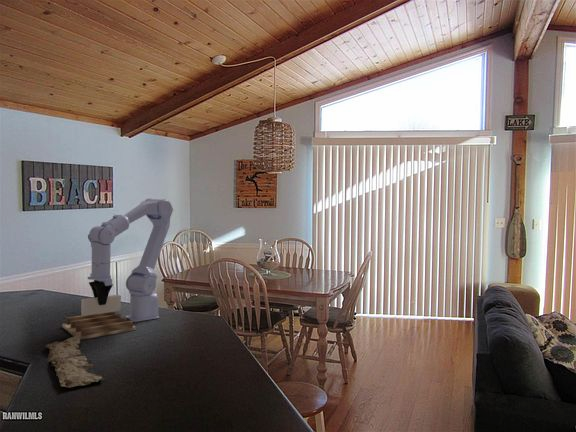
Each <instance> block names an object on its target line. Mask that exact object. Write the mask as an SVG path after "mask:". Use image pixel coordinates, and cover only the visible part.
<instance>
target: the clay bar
mask: <svg viewBox="0 0 576 432" xmlns="http://www.w3.org/2000/svg"><path fill="white" fill-rule="evenodd" d="M121 296H122V295H119V294H113V295H108V298H107V302H106V304H105V305H99V304H98V298H97V297H95V298H94V297H89V298H88V297H87V298H81V300H80V301H81V303H80V304H81V305H80V308H81V309H80V311H81V312H80V316H82V315H83V316H87V315H94V314H101V313H108V312H114V311H115V312H120V311H122V310H121V308H122V297H121Z"/></svg>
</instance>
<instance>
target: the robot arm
mask: <svg viewBox="0 0 576 432" xmlns="http://www.w3.org/2000/svg"><path fill="white" fill-rule="evenodd" d="M173 212H174V208H173V205H172V203H171V201H170V200H169V199H167V198H164V199H163V198H162V199H161V198H157V199H156V198H147V199H145V200H143V201H141V202H140V203H139V204H138V205H136V207H134V208H132V209H131V210H130V211H128V212H126V213H125V214H124V215H122V214H114V215H112V218H111V219H109V220H107V221H106V222H105V221H103V222H101V225H100V226H99V225H98V226H97V225H96V226H94V227H92V228H91V229H90V231H89V234H87V239H88V241H89V242H90V247H91V272H90V274H89V275H90V276H87V280H89V281H90V280H92V281H90V282H88V285H89V286H90V288H91V291H92V294H93V298H95V297H97V298H98V304H99V305H105V304H106V302H107V298H108V296H109V294H110V291H111V289H112V288H113V287H114V284H113V278H112V275H111V246H112V245H111V244H113V242H114V240H115V238H116V237H117V236H119V235H120V234H122V233H124V232H125V231H127V230H129V227H130V224H132V223H134V222H135V221H137V220H139V219H141V218H142V217H144V216H146V217H147V218H148V220H149V221H150V222H151V224H152V225H153V226H152V230H151V233H150V235H149V238H148V240H147V242H146V245H145V248H144V251H143V253H142V256H141V259H140V262H139V264H138V266H136V267H134V268H133V269H132V270H131V273H130V274H129V275H128V277H127V278H126V281H125V287H126V289H127V290H128V292H129V293H128V294H130V295H129V298H130V299H129V304H130V305H129V315H125V317H126V318H127V320H129V321H133V323H137V322H142V321H149V320H155V319H159V318H160V316H159V305H160V304H159V303H160V301H159V297H158V293H156V292H154V291H155V290H156V288H157V278H158V275H157V273H156V270H155V268H156V265H157V262H158V259H159V257H160V254H161V250H162V248H163V246H164V243H165V239H166V237H167V234H168V231H169V229H170V226H171V217H172V214H173Z"/></svg>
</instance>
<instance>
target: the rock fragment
mask: <svg viewBox="0 0 576 432" xmlns="http://www.w3.org/2000/svg"><path fill="white" fill-rule="evenodd" d="M80 343H81V340H80V339H79V336H78V335H76V336H72V337H69V338H67V339H65V340H63V341H54V342H52V343H47V344H46V345H44V347H46V348H47V349H49V350H48V351H49V353H48V355H47V357H46V361H47V363H50V362H51V367H55V368H54V370H55V371H54V372H55V373H56V376H55V377H57V379H58V381H59V383H60V387H63V388H73V387H77V386H88V385H90V384H92V383H94V382H96V383H97V382H100V381H102V380H105V379H106V378H103V376H101V375H100V374H95V373H93V372H91V373H90V372H88V371H86V370H89V369H91V370H93V369H94V368H93V367H94V366H93V365H94V364H92V363H91V360H89V361H87V360H88V358H87V355H85V354H83V353H81V349H80V346H79V344H80Z"/></svg>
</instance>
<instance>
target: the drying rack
mask: <svg viewBox="0 0 576 432" xmlns="http://www.w3.org/2000/svg"><path fill="white" fill-rule="evenodd" d="M61 325H62V328H63V329H64V330H65V331H67V332H68V333H69V334H70V335H71V336H72V337H74V336H76V335H78V336H79V339H80V341H82V340H87V339H92V338H98V337H104V336H110V335H116V334H121V333H122V334H123V333H127V332H132V331H136V330H137V326H135V325H134V322H133V321H132V320H128V318H126V316H125V317H122V315H121V314H120V313H118V314H117V313H116V311H114V312H108V313H101V314H94V315H87V316H83V315H77V316H69V317H65V323H62V324H61Z"/></svg>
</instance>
